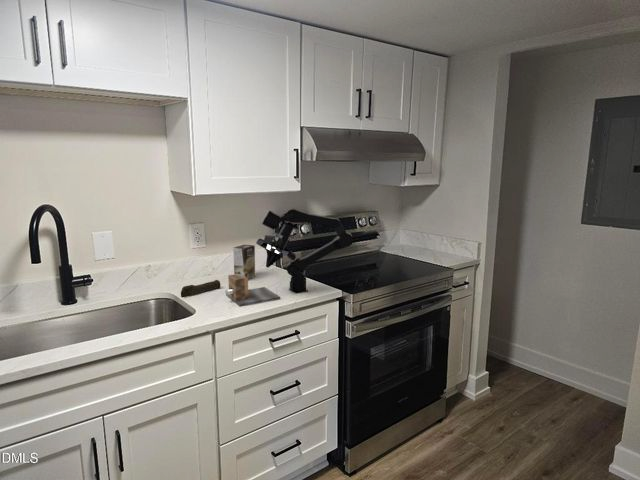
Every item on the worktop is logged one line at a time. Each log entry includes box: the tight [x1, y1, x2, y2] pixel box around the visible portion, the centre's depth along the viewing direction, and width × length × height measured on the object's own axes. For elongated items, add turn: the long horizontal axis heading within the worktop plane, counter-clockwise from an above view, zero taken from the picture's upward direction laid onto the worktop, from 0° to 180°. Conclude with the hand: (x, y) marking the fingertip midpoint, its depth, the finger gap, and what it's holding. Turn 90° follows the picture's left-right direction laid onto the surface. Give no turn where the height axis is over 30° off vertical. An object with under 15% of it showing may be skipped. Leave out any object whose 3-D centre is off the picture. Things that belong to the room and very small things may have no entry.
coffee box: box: [233, 244, 256, 280], centre depth 208 cm, size 9×6×16 cm
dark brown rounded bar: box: [180, 279, 221, 298], centre depth 187 cm, size 19×4×5 cm, turn 136°
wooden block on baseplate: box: [225, 273, 281, 308], centre depth 180 cm, size 18×16×10 cm
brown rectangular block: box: [225, 276, 249, 297], centre depth 176 cm, size 9×5×8 cm, turn 121°
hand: (267, 267), depth 182 cm, fingers closed
